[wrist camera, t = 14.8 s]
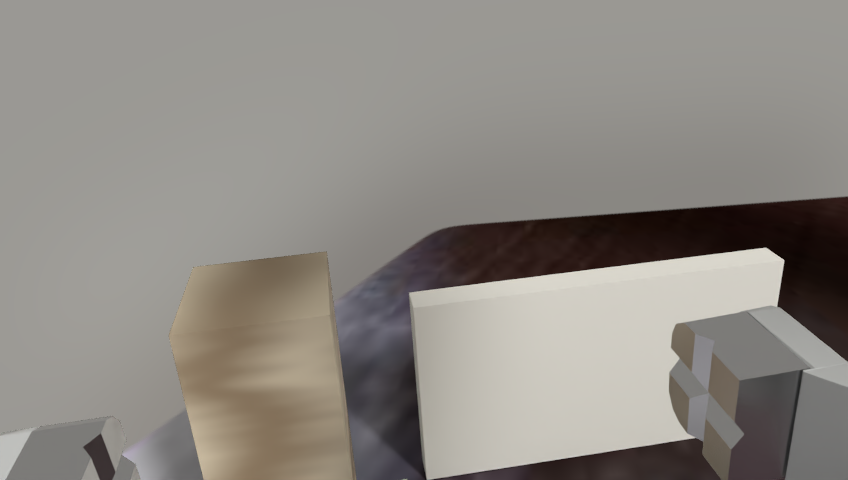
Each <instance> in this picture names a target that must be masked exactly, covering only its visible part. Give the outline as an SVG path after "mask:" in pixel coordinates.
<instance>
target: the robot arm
mask: <svg viewBox="0 0 848 480" xmlns="http://www.w3.org/2000/svg"><path fill="white" fill-rule="evenodd" d="M671 348H672V350H673V351H674V352H675V353H676V354H677V356H678V357H679V358H680V359H679V360H678V361H677V363H676V364H675V365H674V367H673V368H672V370H671V371H670V372H669V394H670V399H671V403H672V408H673V410H674V413H675V415H676V417H677V419H678V421H679V423H680V424H681V426H682V427H683V428H684V430H685V431H686V433H687V434H689V435H691V436H694V437H696V438H698V439H700V440H702V441H704V442H703V456H704V457H705V458H706V460H707V461H708V462H709V464H710V465H711V466H712V468H713V469H714V470H715V472H716V473H717V474H718V475H719V477H720V478H721V479H722V480H773V479H780V478H785V480H848V362H847V361H846V360H844V359H843V358H842V357H841V356H839V355H838V354H837V353H836V352H835V351H833V350H832V349H831V348H830V347H828V346H827V345H826V344H825V343H823V342H822V341H821V340H820V339H818V338H817V337H816V336H815V335H813V334H812V333H811V332H810V331H808V330H807V329H806V328H805V327H803V326H802V325H801V324H800V323H799V322H797V321H796V320H795V319H794V318H792V317H791V316H790V315H789V314H787V313H786V312H785V311H784V310H782V309H781V308H779V307H775V306H771V305H770V306H765V307H760V308H755V309H750V310H745V311H740V312H739V313H734V314H728V315H722V316H717V317H711V318H706V319H700V320H695V321H689V322H683V323H678V324H676V325H675V327H674V330H673V332H672V340H671ZM126 440H127V439H126V436H125V433H124V431H123V428H122V426H121V423H120V421H119V420H118V419H116V418H114V417H113V416H110V417H103V418H96V419H88V420H81V421H75V422H68V423H61V424H54V425H47V426H40V427H39V428H36V427H34V428H27V429H21V430H15V431H10V432H3V433H1V434H0V480H140V476H139V473H138V470H137V467H136V464H134V463H133V462H131V461H130V460H128V459H127V458H125V457H124V456H122V452H123V449H124V446H125V443H126Z"/></svg>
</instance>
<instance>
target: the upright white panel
mask: <svg viewBox="0 0 848 480" xmlns="http://www.w3.org/2000/svg"><path fill="white" fill-rule="evenodd" d="M783 266H784V260H783V259H782V258H780V257H779V256H777V255H776V254H775V253H773V252H772V251H770V250H769V249H767V248H759V249H751V250H744V251H736V252H728V253H720V254H712V255H704V256H696V257H688V258H680V259H672V260H664V261H656V262H648V263H640V264H633V265H625V266H617V267H609V268H601V269H593V270H585V271H577V272H569V273H561V274H553V275H545V276H537V277H529V278H522V279H514V280H506V281H498V282H490V283H482V284H474V285H466V286H458V287H450V288H442V289H434V290H426V291H419V292H411V293H409V299H410V311H411V324H412V336H413V349H414V361H415V373H416V386H417V398H418V411H419V423H420V436H421V448H422V460H423V465H424V470H425V474H426V479H427V480H430V479H437V478H443V477H449V476H456V475H462V474H468V473H475V472H481V471H488V470H494V469H500V468H507V467H513V466H520V465H526V464H532V463H539V462H545V461H551V460H558V459H564V458H571V457H577V456H583V455H590V454H596V453H602V452H609V451H615V450H622V449H628V448H634V447H641V446H647V445H653V444H660V443H666V442H673V441H679V440H685V439H692V438H696V437H694V436H691V435H689V434H687V433H686V431H685V430H684V428H683V427H682V426H681V424H680V423H679V421H678V419H677V417H676V415H675V413H674V410H673V408H672V403H671V399H670V394H669V372H670V371H671V370H672V368H673V367H674V365H675V364H676V363H677V361H678V360H679V359H680V358H679V357H678V356H677V354H676V353H675V352H674V351H673V350H672V348H671V340H672V332H673V330H674V327H675V325H676V324H678V323H683V322H689V321H695V320H700V319H706V318H711V317H717V316H722V315H728V314H734V313H739V312H740V311H745V310H750V309H755V308H760V307H765V306H770V305H771V306H775V307H777V303H778V297H779V291H780V285H781V278H782V272H783Z"/></svg>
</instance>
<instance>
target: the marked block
mask: <svg viewBox="0 0 848 480" xmlns="http://www.w3.org/2000/svg"><path fill="white" fill-rule="evenodd" d="M169 339H170V343H171V347H172V351H173V356H174V360H175V364H176V368H177V372H178V376H179V380H180V384H181V388H182V393H183V396H184V401H185V405H186V409H187V413H188V417H189V421H190V425H191V430H192V434H193V438H194V442H195V446H196V450H197V454H198V458H199V462H200V467H201V471H202V475H203V479H204V480H356V473H355V465H354V457H353V450H352V442H351V434H350V427H349V419H348V411H347V404H346V396H345V388H344V381H343V373H342V365H341V357H340V350H339V342H338V334H337V327H336V319H335V311H334V304H333V296H332V288H331V281H330V273H329V267H328V258H327V252H318V253H310V254H301V255H292V256H284V257H275V258H267V259H258V260H249V261H241V262H233V263H224V264H215V265H207V266H198V267H193V269H192V272H191V275H190V277H189V280H188V283H187V286H186V289H185V291H184V294H183V297H182V300H181V303H180V305H179V308H178V311H177V314H176V317H175V319H174V322H173V325H172V328H171V330H170V333H169Z"/></svg>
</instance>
